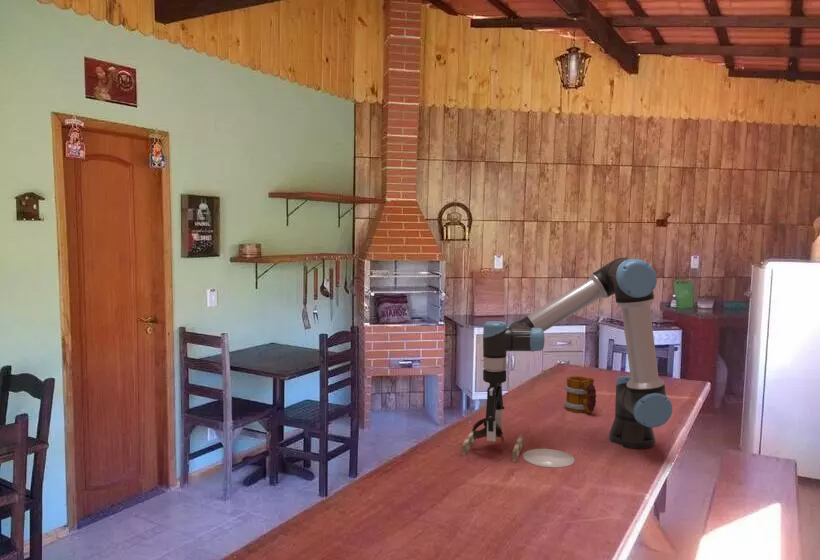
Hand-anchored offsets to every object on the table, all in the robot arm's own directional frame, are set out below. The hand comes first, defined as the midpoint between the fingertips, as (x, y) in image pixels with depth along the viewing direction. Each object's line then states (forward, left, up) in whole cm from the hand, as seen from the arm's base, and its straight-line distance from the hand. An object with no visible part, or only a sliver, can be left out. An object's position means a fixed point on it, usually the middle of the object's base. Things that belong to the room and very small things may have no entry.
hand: (494, 434), depth 206 cm
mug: (-26, -58, -6) cm, 63 cm away
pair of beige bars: (0, 0, -5) cm, 5 cm away
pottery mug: (0, -1, -3) cm, 3 cm away
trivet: (-18, +1, -5) cm, 18 cm away
